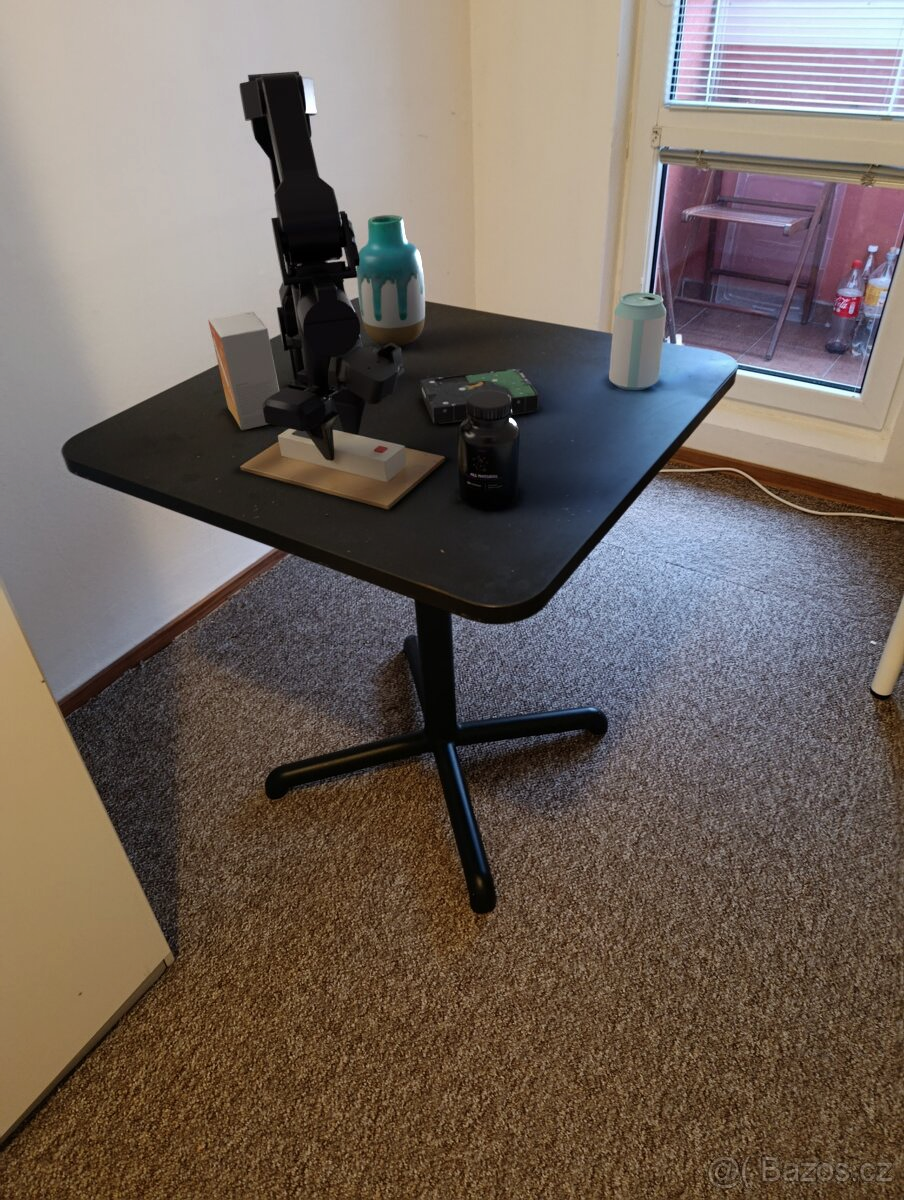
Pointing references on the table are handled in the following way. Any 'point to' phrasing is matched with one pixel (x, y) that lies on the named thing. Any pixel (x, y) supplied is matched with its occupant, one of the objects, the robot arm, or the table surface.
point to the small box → (244, 365)
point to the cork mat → (345, 476)
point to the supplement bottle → (488, 452)
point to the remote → (347, 454)
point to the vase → (390, 283)
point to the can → (637, 341)
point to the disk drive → (452, 392)
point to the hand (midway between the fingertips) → (341, 451)
